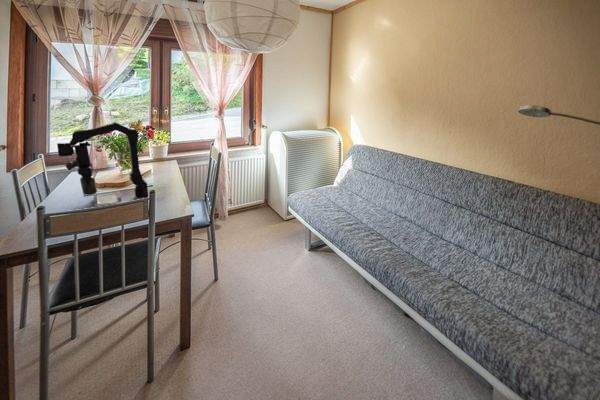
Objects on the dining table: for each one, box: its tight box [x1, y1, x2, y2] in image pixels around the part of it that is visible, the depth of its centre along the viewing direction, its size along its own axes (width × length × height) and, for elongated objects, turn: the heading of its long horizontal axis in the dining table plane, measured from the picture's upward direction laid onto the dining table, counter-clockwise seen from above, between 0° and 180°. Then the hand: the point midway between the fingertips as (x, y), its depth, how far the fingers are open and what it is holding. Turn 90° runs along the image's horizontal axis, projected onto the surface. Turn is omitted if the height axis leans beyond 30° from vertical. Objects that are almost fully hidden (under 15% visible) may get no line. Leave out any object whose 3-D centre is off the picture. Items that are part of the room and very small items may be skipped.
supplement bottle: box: [79, 175, 98, 196], centre depth 185 cm, size 7×7×12 cm
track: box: [93, 190, 123, 207], centre depth 191 cm, size 13×14×4 cm
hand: (88, 183), depth 185 cm, fingers closed on supplement bottle, 7 cm apart
